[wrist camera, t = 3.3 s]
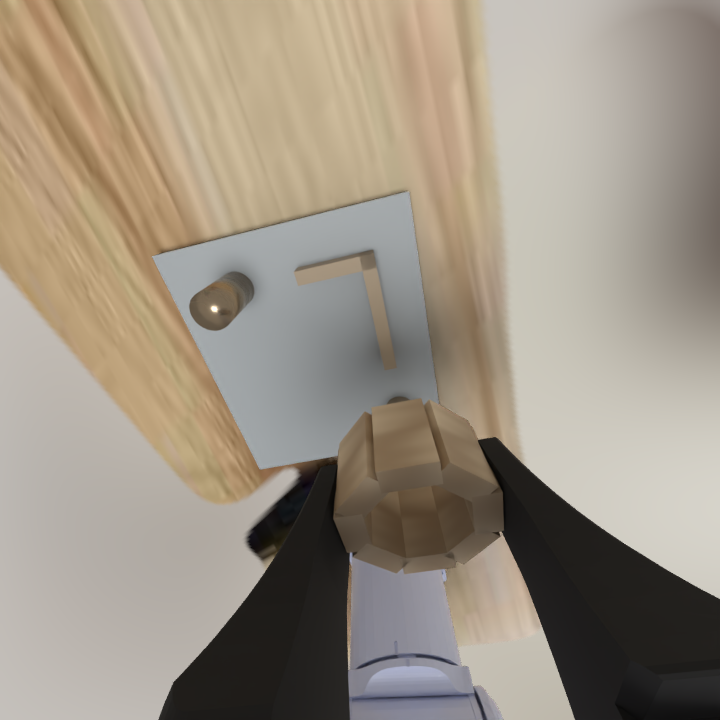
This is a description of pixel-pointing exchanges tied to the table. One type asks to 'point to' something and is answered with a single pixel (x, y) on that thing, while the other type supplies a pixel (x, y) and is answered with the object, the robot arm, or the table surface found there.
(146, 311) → the table surface
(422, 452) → the ring
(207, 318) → the end peg
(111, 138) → the table surface
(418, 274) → the board
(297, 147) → the table surface
